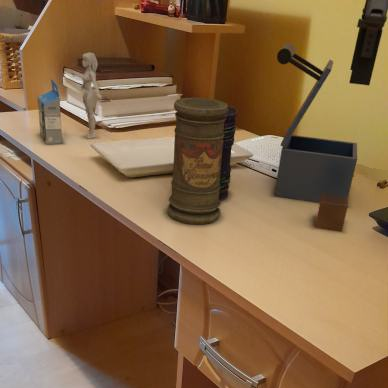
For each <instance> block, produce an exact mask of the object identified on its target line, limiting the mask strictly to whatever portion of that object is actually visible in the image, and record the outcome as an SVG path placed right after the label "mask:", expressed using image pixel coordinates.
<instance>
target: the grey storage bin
mask: <svg viewBox="0 0 388 388" xmlns="http://www.w3.org/2000/svg"><path fill="white" fill-rule="evenodd" d="M281 147H282V146H281ZM357 162H358V143H357V142H352V141H343V140H335V139H329V138H319V137H313V136H303V135H296V134H292V135H291V137H290V139H289V140H288V142H287V144H286V145H285V147H282V148H281V150H280V156H279V164H278V169H277V176H276V183H275V188H274V197H278V198H284V199H285V198H286V199H291V200H298V201H305V202H314V203H319V204H320V199H321V194H322V193H324V194H331V195H338V196H345V197H348V198H349V196H350V191H351V188H352V184H353V183H352V182H353V179H354V176H355V175H354V174H355V170H356V166H357Z"/></svg>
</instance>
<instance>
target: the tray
mask: <svg viewBox="0 0 388 388" xmlns="http://www.w3.org/2000/svg"><path fill="white" fill-rule="evenodd" d="M174 142H175V135H174V136H173V135H172V136H164V137H163V136H162V137H161V136H160V137H151V138H150V137H149V138H137V139H125V140H115V141H113V140H112V141H101V142H99V141H98V142H92V143H90V144H89V145H90V147H91V148H92V149H93V150H94V151H95V153H97V154H98V155H99V156H101V157H102V158H103V159H104V160H106V161H107V162H108V163H109V164H111V165H112V166H113V167H114V168H115V169H116V170H117V171H118V172H120V173H121V174H122V175H124V176H125V177H127V178H139V177H140V178H141V177H149V176H156V175H157V176H158V175H159V176H160V175H166V174H167V175H168V174H173V166H174ZM231 150H232V151H234V152H235V153H231V159H230V165H231V167H233V166H235V164H239V163H241V162H244V161H246V160H249V159H251V158H252V157H253V156H254V153H253V152H251V151H249V150H248V149H246V148H244V147H242V146H240V145H238V144H236V143H235V142H234V143H233V145H232V149H231Z"/></svg>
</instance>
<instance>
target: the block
mask: <svg viewBox="0 0 388 388" xmlns="http://www.w3.org/2000/svg"><path fill="white" fill-rule="evenodd" d="M348 208H349V196H348V197H345V196H338V195H331V194H324V193H322V194H321V199H320V203H319V204H318V208H317V213H316V219H315V225H314V228H317V229H324V230H330V231H336V232H342V231H343V227H344V224H345V219H346V215H347V211H348Z"/></svg>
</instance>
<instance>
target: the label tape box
mask: <svg viewBox="0 0 388 388" xmlns="http://www.w3.org/2000/svg"><path fill="white" fill-rule="evenodd" d="M50 84H51V90H49V91H47V92H44V93H42V94H41V95H39V96H37V110H38V111H37V112H38V124H39V135H40V136H41V137H42V139H43V141H44V142H45V143H46V144H48V145H61V144H63V132H62V117H61V116H62V113H61V99H60V98H61V96H60V91H59V86H58V83H56V81H54V80H53V79H52V78H50Z"/></svg>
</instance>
